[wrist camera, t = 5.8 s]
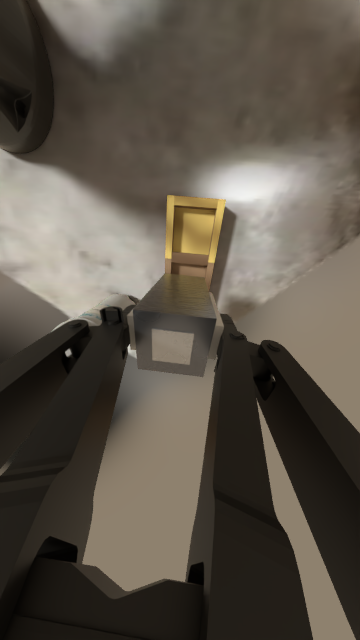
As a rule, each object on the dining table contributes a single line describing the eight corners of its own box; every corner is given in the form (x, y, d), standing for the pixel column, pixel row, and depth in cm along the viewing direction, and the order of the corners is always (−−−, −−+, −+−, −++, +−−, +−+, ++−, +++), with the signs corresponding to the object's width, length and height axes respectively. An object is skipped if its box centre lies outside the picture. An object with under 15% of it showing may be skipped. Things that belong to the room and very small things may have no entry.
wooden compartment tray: (170, 200, 22) (167, 195, 20) (222, 204, 22) (225, 199, 19) (165, 328, 33) (163, 334, 30) (200, 332, 32) (200, 338, 30)
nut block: (165, 273, 16) (131, 310, 8) (204, 277, 16) (216, 319, 7) (164, 308, 19) (137, 369, 10) (198, 312, 18) (203, 377, 10)
